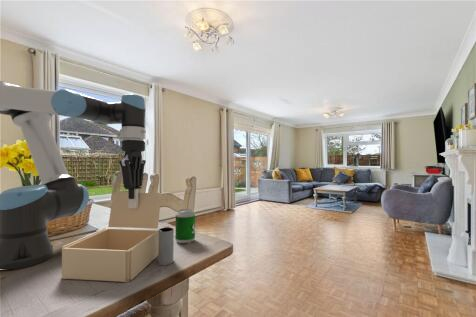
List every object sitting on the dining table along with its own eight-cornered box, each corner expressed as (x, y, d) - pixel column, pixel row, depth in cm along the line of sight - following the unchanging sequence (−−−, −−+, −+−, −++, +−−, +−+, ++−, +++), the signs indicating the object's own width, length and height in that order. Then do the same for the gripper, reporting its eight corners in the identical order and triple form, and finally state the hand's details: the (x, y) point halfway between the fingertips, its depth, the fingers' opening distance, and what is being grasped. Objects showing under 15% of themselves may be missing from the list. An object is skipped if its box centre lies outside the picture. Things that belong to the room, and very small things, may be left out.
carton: (58, 279, 63) (58, 248, 63) (105, 251, 83) (105, 227, 83) (129, 283, 61) (129, 251, 61) (161, 253, 81) (161, 229, 81)
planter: (165, 266, 71) (165, 232, 71) (155, 263, 73) (155, 229, 73) (176, 261, 75) (176, 228, 75) (166, 257, 77) (166, 226, 77)
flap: (108, 227, 82) (113, 192, 85) (109, 226, 83) (114, 192, 85) (157, 228, 80) (160, 193, 83) (157, 228, 81) (161, 193, 84)
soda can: (190, 245, 88) (190, 213, 88) (171, 243, 90) (172, 212, 90) (197, 238, 96) (197, 209, 96) (180, 237, 97) (180, 208, 97)
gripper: (133, 138, 75) (133, 212, 75) (152, 141, 88) (152, 204, 88) (111, 138, 76) (111, 211, 76) (133, 141, 89) (133, 204, 89)
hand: (133, 207), depth 82 cm, fingers closed
